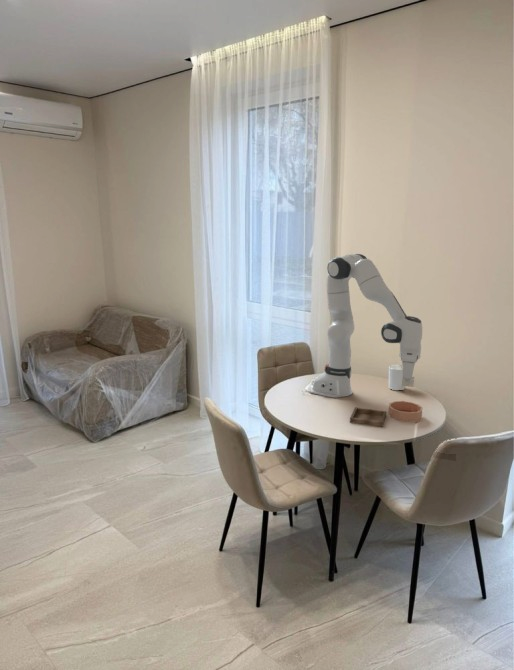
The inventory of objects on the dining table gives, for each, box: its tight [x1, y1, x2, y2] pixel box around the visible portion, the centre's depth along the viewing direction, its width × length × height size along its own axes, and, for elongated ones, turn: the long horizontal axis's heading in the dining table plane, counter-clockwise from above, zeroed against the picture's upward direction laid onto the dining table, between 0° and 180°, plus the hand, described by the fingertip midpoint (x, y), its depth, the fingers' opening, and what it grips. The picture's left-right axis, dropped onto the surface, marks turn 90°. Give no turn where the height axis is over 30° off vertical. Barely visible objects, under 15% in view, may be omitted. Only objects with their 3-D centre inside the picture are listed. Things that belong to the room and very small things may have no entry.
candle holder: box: [388, 364, 406, 391], centre depth 261 cm, size 10×10×12 cm
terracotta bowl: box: [387, 400, 423, 424], centre depth 223 cm, size 15×15×5 cm
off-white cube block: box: [402, 376, 415, 388], centre depth 220 cm, size 5×4×4 cm
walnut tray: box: [349, 407, 387, 428], centre depth 218 cm, size 14×14×3 cm
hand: (407, 383), depth 220 cm, fingers closed on off-white cube block, 4 cm apart
